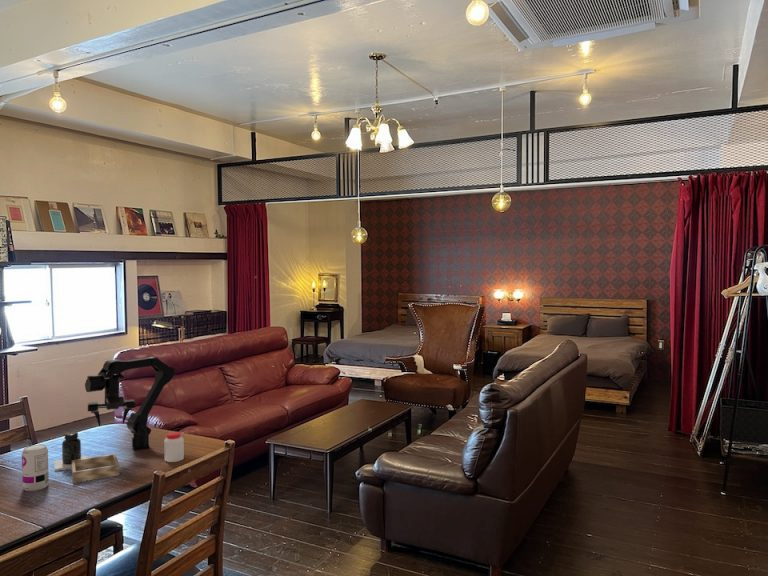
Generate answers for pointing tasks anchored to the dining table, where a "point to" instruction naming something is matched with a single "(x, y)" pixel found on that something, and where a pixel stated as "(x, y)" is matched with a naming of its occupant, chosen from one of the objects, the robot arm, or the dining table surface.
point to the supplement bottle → (71, 448)
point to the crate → (95, 472)
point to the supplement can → (35, 467)
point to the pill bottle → (174, 447)
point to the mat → (61, 466)
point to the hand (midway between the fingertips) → (111, 424)
